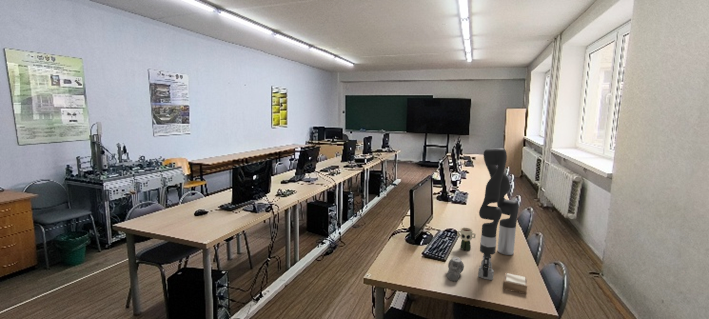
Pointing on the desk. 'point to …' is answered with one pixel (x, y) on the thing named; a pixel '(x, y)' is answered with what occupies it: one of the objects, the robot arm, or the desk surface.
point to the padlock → (490, 272)
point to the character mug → (466, 238)
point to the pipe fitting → (455, 268)
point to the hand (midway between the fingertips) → (485, 273)
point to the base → (515, 283)
